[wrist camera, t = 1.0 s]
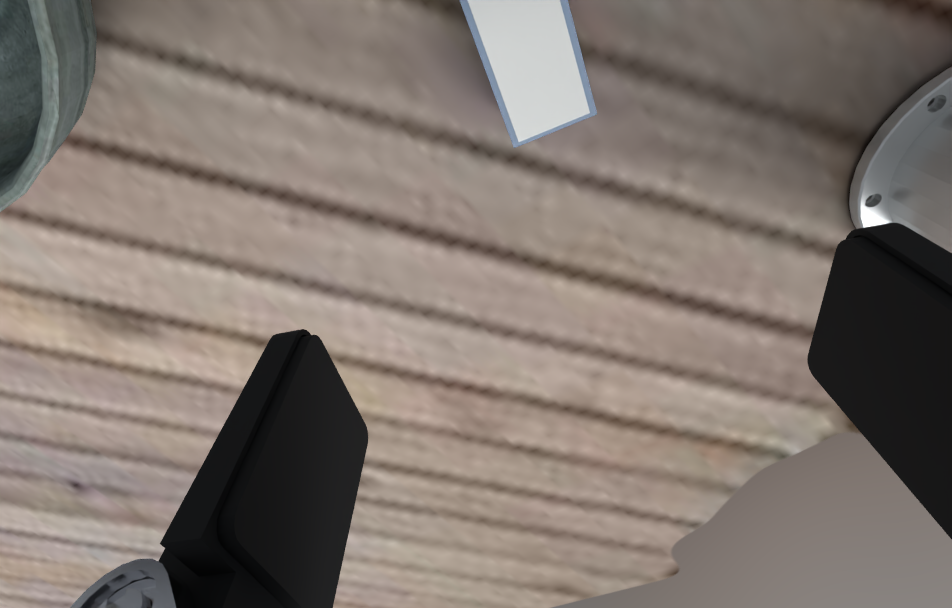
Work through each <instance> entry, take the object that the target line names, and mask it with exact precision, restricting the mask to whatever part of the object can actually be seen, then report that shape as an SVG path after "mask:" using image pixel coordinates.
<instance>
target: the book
mask: <svg viewBox="0 0 952 608" xmlns="http://www.w3.org/2000/svg"><path fill="white" fill-rule="evenodd" d="M460 3H461V6H462V8H463V11H464V14H465V17H466V19H467V22H468V25H469V27H470V30H471V33H472V35H473V38H474V41H475V44H476V46H477V49H478V52H479V54H480V57H481V60H482V63H483V65H484V68H485V71H486V73H487V76H488V79H489V82H490V84H491V87H492V90H493V92H494V95H495V98H496V100H497V103H498V106H499V109H500V111H501V114H502V117H503V119H504V122H505V125H506V128H507V130H508V133H509V136H510V138H511V141H512V144H513V147H514V148H516V147H518V146H520V145H523V144H525V143H528V142H530V141H533V140H535V139H538V138H540V137H543V136H545V135H547V134H550V133H552V132H555V131H557V130H560V129H562V128H565V127H567V126H569V125H572V124H574V123H577V122H579V121H582V120H584V119H587V118H589V117H592V116H594V115H596V114H597V111H596V107H595V104H594V100H593V96H592V92H591V88H590V84H589V80H588V76H587V73H586V69H585V65H584V61H583V57H582V53H581V49H580V46H579V42H578V38H577V34H576V30H575V26H574V22H573V19H572V15H571V11H570V7H569V3H568V0H460Z"/></svg>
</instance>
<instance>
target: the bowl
mask: <svg viewBox="0 0 952 608" xmlns="http://www.w3.org/2000/svg"><path fill="white" fill-rule="evenodd" d="M96 37H97V32H96V27H95V21H94V16H93V10H92V5H91V0H0V212H1V211H2V210H4V209H5V208H6V207H8V206H9V205H10V204H12V203H13V202H14V201H16V200H17V199H19V198H20V197H21V196H23V195H24V194H25V193H26V192H27V191H28V189H29V188H30V186H31V185H32V183H33V182H34V180H35V179H36V178H37V176H38V175H39V173H40V172H41V170H42V169H43V167H44V166H45V165H46V164H47V163H48V162H49V161H50V160H51V158H52V157H53V155H54V154H55V153H56V151H57V150H58V148H59V147H60V146H61V144H62V143H63V142H64V140H65V139H66V137H67V136H68V134H69V133H70V131H71V130H72V128H73V127H74V125H75V124H76V122H77V121H78V119H79V118H80V116H81V115H82V113H83V110H84V107H85V104H86V100H87V97H88V94H89V90H90V87H91V83H92V80H93V77H94V73H95V60H96Z"/></svg>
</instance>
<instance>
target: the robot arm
mask: <svg viewBox="0 0 952 608" xmlns="http://www.w3.org/2000/svg"><path fill="white" fill-rule="evenodd" d="M849 206H850V212H851V219H852V221H853V223H854V225H855V227H856V229H855V230H853V231H851V232H850V233H849V235H848V236H847V238H846V240H843V241H841V242H840V243H839V244H838V246H837V249H836V252H835V256H834V260H833V263H832V267H831V271H830V275H829V278H828V282H827V286H826V290H825V293H824V297H823V301H822V305H821V308H820V312H819V316H818V320H817V323H816V327H815V331H814V335H813V338H812V342H811V346H810V350H809V353H808V366H809V369H810V371H811V373H812V375H813V376H814V378H815V379H816V380H817V381H818V382H819V384H820V385H821V386H822V387H823V388H824V389H825V391H826V392H827V393H828V394H829V395H830V397H831V398H832V399H833V400H834V401H835V402H836V404H837V405H838V406H839V407H840V408H841V409H842V411H843V412H844V413H845V414H846V415H847V417H848V418H849V419H850V420H851V421H852V422H853V424H854V425H855V426H856V427H857V428H858V430H859V431H860V432H861V433H862V434H863V435H864V437H865V438H866V439H867V440H868V441H869V442H870V443H871V445H872V446H873V447H874V448H875V450H876V451H877V452H878V453H879V454H880V455H881V457H882V458H883V459H884V460H885V461H886V462H887V464H888V465H889V466H890V467H891V468H892V469H893V471H894V472H895V473H896V474H897V475H898V477H899V478H900V479H901V480H902V481H903V482H904V484H905V485H906V486H907V487H908V488H909V490H910V491H911V492H912V493H913V494H914V495H915V497H916V498H917V499H918V500H919V501H920V503H921V504H922V505H923V506H924V507H925V508H926V510H927V511H928V512H929V513H930V514H931V515H932V517H933V518H934V519H935V520H936V521H937V523H938V524H939V525H940V526H941V527H942V528H943V530H944V531H945V532H946V533H947V534H948V536H949V537H950V538H951V539H952V67H950V68H948V69H947V70H945V71H944V72H942V73H941V74H939V75H938V76H936V77H935V78H933V79H932V80H930V81H929V82H927V83H926V84H925V85H923V86H922V87H921V88H920V89H918V90H917V91H916V92H915V93H914V94H913V95H911V96H910V97H909V98H908V99H907V100H906V101H905V102H903V103H902V104H901V105H900V106H899V107H898V108H897V109H896V110H895V112H894V113H893V114H892V115H891V116H890V117H889V118H888V119H887V120H886V121H885V123H884V124H883V125H882V126H881V127H880V129H879V130H878V132H877V133H876V134H875V136H874V137H873V139H872V140H871V142H870V143H869V144H868V146H867V147H866V149H865V151H864V153H863V155H862V157H861V159H860V161H859V163H858V165H857V167H856V171H855V174H854V177H853V180H852V184H851V188H850V199H849ZM367 444H368V431H367V427H366V424H365V422H364V421H363V419H362V417H361V415H360V413H359V411H358V409H357V407H356V405H355V403H354V402H353V400H352V398H351V396H350V394H349V392H348V390H347V388H346V386H345V384H344V382H343V381H342V379H341V377H340V375H339V373H338V371H337V369H336V367H335V365H334V363H333V362H332V360H331V358H330V356H329V354H328V352H327V350H326V348H325V346H324V344H323V343H322V341H321V339H320V338H319V337H318V336H317V335H311V334H310V333H309V332H308V331H307V330H304V329H302V330H296V331H291V332H285V333H279V334H276V335H273V336H272V338H271V339H270V341H269V342H268V344H267V346H266V348H265V350H264V352H263V354H262V355H261V357H260V359H259V361H258V363H257V365H256V367H255V368H254V370H253V372H252V374H251V376H250V378H249V380H248V381H247V383H246V385H245V387H244V389H243V391H242V393H241V394H240V396H239V398H238V400H237V402H236V404H235V406H234V407H233V409H232V411H231V413H230V415H229V417H228V419H227V420H226V422H225V424H224V426H223V428H222V430H221V431H220V433H219V435H218V437H217V439H216V441H215V443H214V444H213V446H212V448H211V450H210V452H209V454H208V456H207V457H206V459H205V461H204V463H203V465H202V467H201V469H200V470H199V472H198V474H197V476H196V478H195V480H194V482H193V483H192V485H191V487H190V489H189V491H188V493H187V495H186V496H185V498H184V500H183V502H182V504H181V506H180V508H179V509H178V511H177V513H176V515H175V517H174V519H173V521H172V522H171V524H170V526H169V528H168V530H167V532H166V533H165V535H164V537H163V539H162V541H161V543H160V544H161V545H162V546H163V547H164V548H165V550H164V552H163V554H162V556H161V558H160V559H159V561H156V560H154V559H137V560H134V561H131V562H129V563H126V564H123V565H121V566H119V567H117V568H116V569H114V570H112V571H111V572H109V573H107V574H105V575H104V576H103V577H101V578H100V579H99V580H98V581H97V582H95V583H94V584H93V585H92V586H90V587H89V588H88V589H87V590H86V591H85V592H84V593H83V594H82V595H81V596H80V597H79V598H78V600H77V601H76V602H75V603H74V604H73V605H72V606H71V607H70V608H333V603H334V598H335V594H336V589H337V584H338V580H339V575H340V570H341V566H342V561H343V556H344V552H345V547H346V542H347V538H348V533H349V528H350V524H351V519H352V514H353V510H354V505H355V500H356V496H357V491H358V486H359V482H360V477H361V472H362V468H363V463H364V458H365V454H366V449H367Z"/></svg>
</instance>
